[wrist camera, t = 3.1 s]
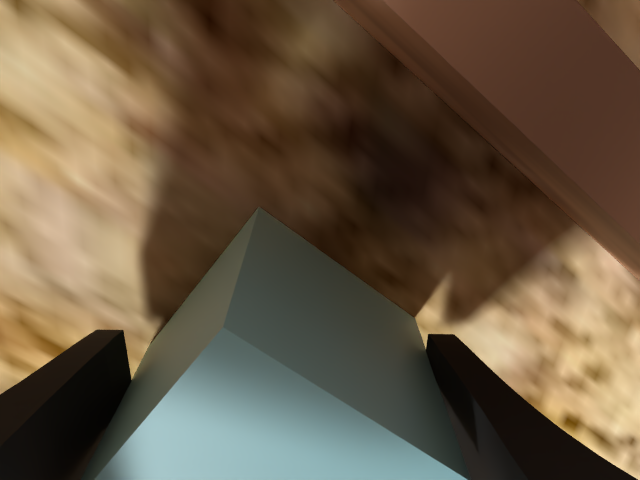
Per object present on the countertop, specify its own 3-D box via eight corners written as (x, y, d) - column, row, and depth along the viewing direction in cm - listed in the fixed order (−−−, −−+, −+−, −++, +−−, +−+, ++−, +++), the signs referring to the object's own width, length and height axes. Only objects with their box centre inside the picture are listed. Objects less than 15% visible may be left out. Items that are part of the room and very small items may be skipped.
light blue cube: (419, 320, 13) (478, 486, 8) (302, 435, 14) (297, 628, 10) (259, 206, 11) (222, 327, 7) (149, 345, 13) (59, 519, 8)
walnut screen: (737, 278, 12) (1027, 451, 7) (315, 604, 18) (315, 836, 13) (67, -395, 7) (-441, -1261, 2) (-243, 332, 13) (-611, 536, 8)
